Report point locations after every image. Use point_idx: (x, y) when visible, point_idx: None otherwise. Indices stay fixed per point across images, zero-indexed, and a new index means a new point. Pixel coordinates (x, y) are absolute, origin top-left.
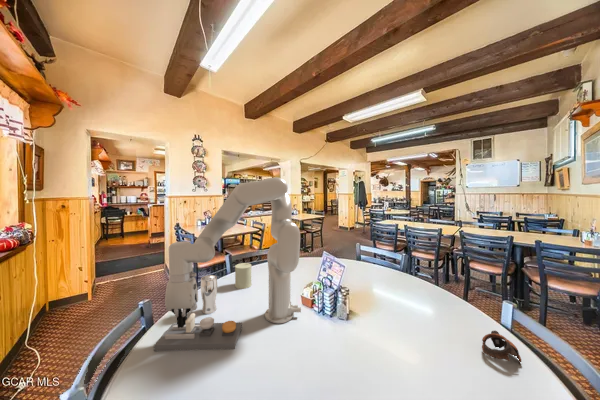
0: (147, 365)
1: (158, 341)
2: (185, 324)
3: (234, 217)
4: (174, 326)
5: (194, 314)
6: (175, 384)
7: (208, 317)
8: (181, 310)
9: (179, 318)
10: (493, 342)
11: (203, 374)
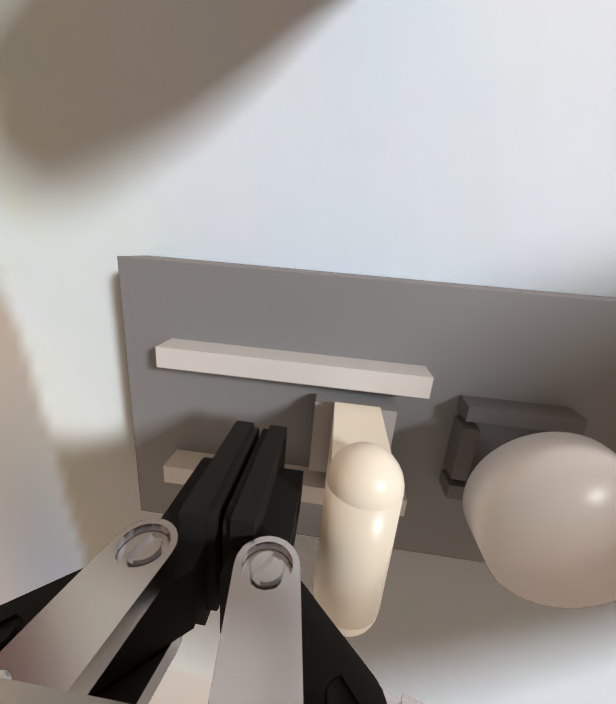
0: None
1: (146, 480)
2: (251, 284)
3: None
4: (171, 366)
5: (399, 504)
6: (379, 682)
7: (595, 470)
8: (158, 585)
9: (217, 600)
10: None
11: (496, 669)
